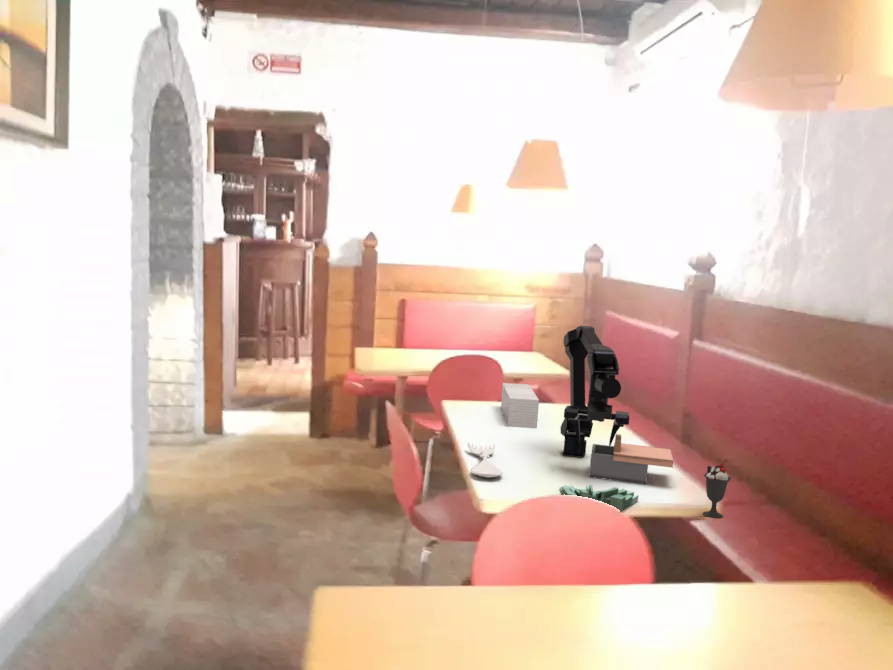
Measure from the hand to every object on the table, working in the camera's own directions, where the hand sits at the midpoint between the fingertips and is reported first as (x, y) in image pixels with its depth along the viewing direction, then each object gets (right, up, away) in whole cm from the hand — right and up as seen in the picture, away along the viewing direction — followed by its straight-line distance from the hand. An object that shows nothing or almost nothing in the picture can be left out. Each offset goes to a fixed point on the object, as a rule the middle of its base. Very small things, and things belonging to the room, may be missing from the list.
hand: (594, 443), depth 230 cm
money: (-3, -12, -26) cm, 29 cm away
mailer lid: (+13, -4, -3) cm, 14 cm away
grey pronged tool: (-33, -7, 0) cm, 33 cm away
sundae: (+24, -14, -32) cm, 42 cm away
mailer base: (+7, -9, -1) cm, 11 cm away
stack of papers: (-16, 0, +69) cm, 71 cm away
